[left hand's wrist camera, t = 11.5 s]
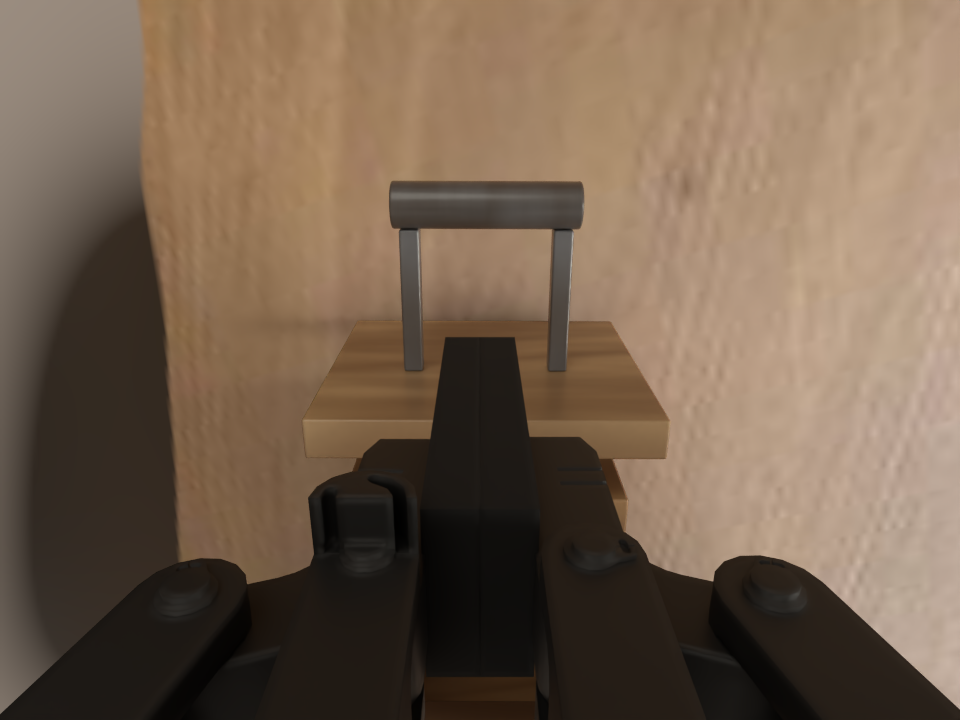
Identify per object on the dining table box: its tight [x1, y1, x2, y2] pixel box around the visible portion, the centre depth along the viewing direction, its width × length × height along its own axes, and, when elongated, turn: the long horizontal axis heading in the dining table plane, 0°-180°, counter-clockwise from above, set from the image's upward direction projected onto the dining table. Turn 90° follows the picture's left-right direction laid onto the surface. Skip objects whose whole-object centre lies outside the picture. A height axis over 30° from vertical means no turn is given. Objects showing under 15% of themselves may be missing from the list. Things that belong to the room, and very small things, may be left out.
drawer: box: [302, 181, 671, 701], centre depth 24 cm, size 21×10×9 cm, turn 0°
